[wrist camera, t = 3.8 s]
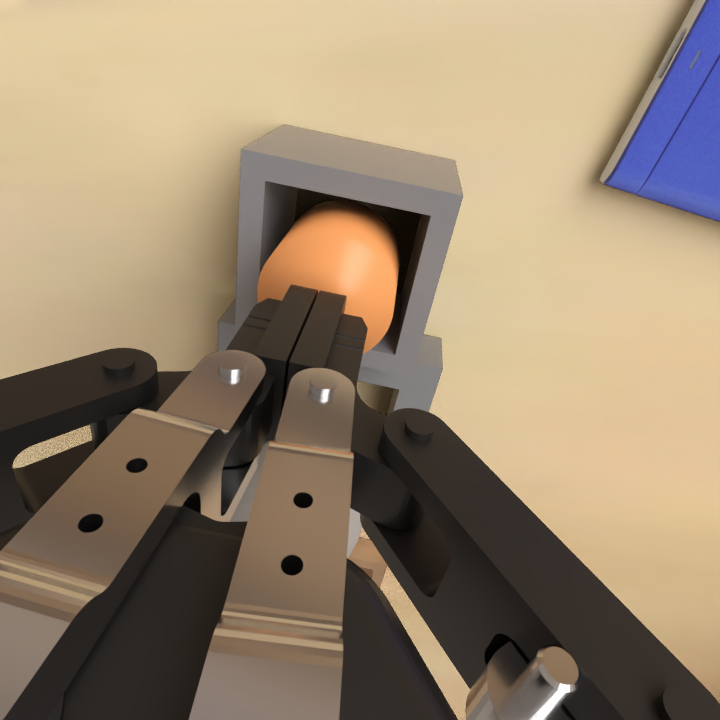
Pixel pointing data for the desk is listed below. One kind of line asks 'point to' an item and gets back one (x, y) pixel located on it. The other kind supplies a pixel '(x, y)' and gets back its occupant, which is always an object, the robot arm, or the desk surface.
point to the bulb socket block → (363, 183)
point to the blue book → (677, 124)
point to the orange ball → (339, 262)
